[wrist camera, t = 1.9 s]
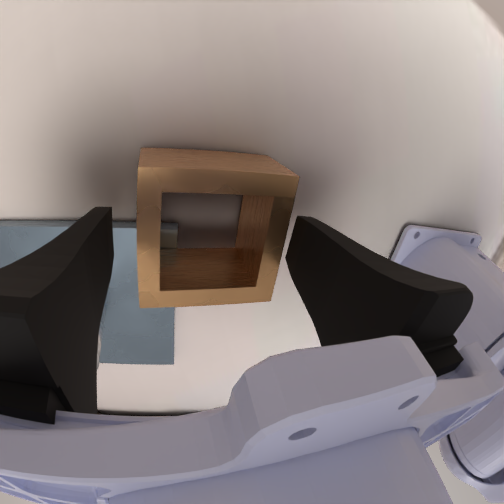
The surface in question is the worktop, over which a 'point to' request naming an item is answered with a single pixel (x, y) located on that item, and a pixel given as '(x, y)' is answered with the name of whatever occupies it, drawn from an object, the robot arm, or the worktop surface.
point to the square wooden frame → (212, 259)
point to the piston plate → (109, 290)
